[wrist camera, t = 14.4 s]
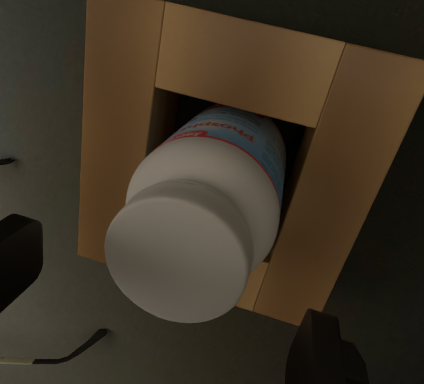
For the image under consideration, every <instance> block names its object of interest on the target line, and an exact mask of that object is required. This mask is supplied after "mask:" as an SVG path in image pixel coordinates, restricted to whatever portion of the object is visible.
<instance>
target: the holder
mask: <svg viewBox="0 0 424 384" xmlns="http://www.w3.org/2000/svg"><path fill="white" fill-rule="evenodd" d="M181 94H183V95H187V96H191V97H195V98H199V99H203V100H207V101H211V102H215V103H218V104H222V105H226V106H230V107H234V108H238V109H242V110H246V111H250V112H253V113H257V114H261V115H265V116H269V117H273V118H277V119H281V120H284V121H288V122H292V123H296V124H300V125H304V126H306V128H305V131H304V134H303V137H302V140H301V143H300V146H299V149H298V152H297V155H296V158H295V161H294V164H293V167H292V170H291V173H290V176H289V179H288V182H287V185H286V188H285V191H284V194H283V197H282V203H281V211H280V220H279V226H278V231H277V235H276V238H275V241H274V244H273V246H272V248H271V250H270V252H269V253H268V255H267V256H266V258H265V259H264V260H263V261H262V262H261V263H260V265H258V266H257V267H256V268H255V269H254V270H253V271H251V272H250V274H249V278H248V282H247V285H246V289H245V291H244V293H243V294H242V296H241V298H240V299H239V301H238V302H237V303H236V304H235V305H234V306H237V307H240V308H243V309H247V310H250V311H254V312H257V313H260V314H263V315H266V316H269V317H272V318H275V319H278V320H282V321H285V322H288V323H291V324H294V325H297V326H300V324H301V322H302V319H303V317H304V315H305V313H306V311H307V309H308V308H311V309H314V310H317V311H320V312H322V310H323V308H324V306H325V304H326V301H327V299H328V297H329V295H330V293H331V291H332V289H333V287H334V284H335V282H336V280H337V278H338V276H339V274H340V272H341V270H342V267H343V265H344V263H345V261H346V259H347V257H348V255H349V253H350V251H351V248H352V246H353V244H354V242H355V240H356V238H357V236H358V234H359V231H360V229H361V227H362V225H363V223H364V221H365V219H366V217H367V214H368V212H369V210H370V208H371V206H372V204H373V202H374V200H375V197H376V195H377V193H378V191H379V189H380V187H381V185H382V183H383V181H384V178H385V176H386V174H387V172H388V170H389V168H390V166H391V164H392V161H393V159H394V157H395V155H396V153H397V151H398V149H399V147H400V144H401V142H402V140H403V138H404V136H405V134H406V132H407V130H408V128H409V125H410V123H411V121H412V119H413V117H414V115H415V113H416V111H417V108H418V106H419V104H420V102H421V100H422V98H423V96H424V60H422V59H417V58H413V57H408V56H404V55H400V54H395V53H391V52H387V51H382V50H378V49H373V48H369V47H365V46H360V45H356V44H351V43H347V42H343V41H338V40H334V39H330V38H325V37H321V36H316V35H312V34H308V33H303V32H299V31H294V30H290V29H286V28H281V27H277V26H272V25H268V24H264V23H259V22H255V21H251V20H246V19H242V18H237V17H233V16H229V15H224V14H220V13H215V12H211V11H207V10H202V9H198V8H194V7H189V6H185V5H180V4H176V3H172V2H167V1H163V0H87V12H86V40H85V67H84V95H83V123H82V151H81V179H80V206H79V234H78V255H79V256H82V257H85V258H89V259H92V260H95V261H98V262H101V263H104V264H107V262H106V258H105V248H104V245H105V238H106V233H107V230H108V228H109V226H110V224H111V222H112V220H113V219H114V217H115V216H116V215H117V214H118V212H119V211H120V210H121V209H122V208H123V207H124V206H125V205H126V196H127V190H128V186H129V183H130V181H131V178H132V176H133V174H134V172H135V171H136V169H137V168H138V166H139V165H140V164H141V162H142V161H143V160H144V159H145V158H146V157H147V156H148V155H149V154H150V153H151V152H152V151H154V150H155V149H156V148H157V147H158V146H160V145H161V144H162V143H163V142H165V141H166V140H167V139H168V138H169V137H170V136H172V135H173V134H174V133H175V126H176V120H177V114H178V108H179V101H180V95H181Z"/></svg>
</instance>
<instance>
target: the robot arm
mask: <svg viewBox="0 0 424 384" xmlns="http://www.w3.org/2000/svg"><path fill="white" fill-rule="evenodd" d="M42 266H43V233H42V224H41V223H40V222H39V221H37V220H34V219H31V218H28V217H25V216H21V215H18V214H11V215H9V216H7V217H5V218H4V219H2V220H1V221H0V313H1V312H2V311H3V310H4V309H5V308H6V307H7V306H8V305H10V304H11V303H12V302H13V301H14V300H15V299H16V298H17V297H18V296H19V295H20V294H21V293H23V292H24V291H25V290H26V289H27V288H28V287H29V286H30V285H31V284H32V283H33V282H34V281H35V280H36V279H37V277H38V276H39V274H40V272H41V269H42ZM285 384H369V380H368V375H367V370H366V365H365V362H364V360H363V359H362V357H361V355H360V353H359V352H358V350H357V348H356V347H355V345H354V343H351V342H348V341H345V340H342V339H341V335H340V328H339V321H338V318H337V317H336V316H333V315H330V314H326V313H323V312H320V311H317V310H314V309H311V308H308V309H307V311H306V313H305V315H304V317H303V319H302V322H301V324H300V326H299V329H298V331H297V333H296V335H295V338H294V340H293V342H292V345H291V347H290V350H289V354H288V358H287V363H286V375H285Z"/></svg>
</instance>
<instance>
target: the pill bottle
mask: <svg viewBox="0 0 424 384" xmlns="http://www.w3.org/2000/svg"><path fill="white" fill-rule="evenodd" d="M285 169H286V147H285V143H284V140H283V138H282V135H281V133H280V131H279V129H278V128H277V126H276V125H275V123H274V122H273V121H272V119H271V118H270V117H269V116H265V115H261V114H257V113H253V112H250V111H246V110H242V109H238V108H234V107H230V106H226V105H222V104H215V105H212V106H210V107H208V108H206V109H204V110H203V111H202V112H200V113H199V114H197V115H196V116H195V117H194V118H193V119H191V120H190V121H189V122H188V123H186V124H185V125H184V126H183V127H182V128H180V129H179V130H178V131H177V132H175V133H174V134H173V135H172V136H170V137H169V138H168V139H167V140H166V141H165V142H163V143H162V144H161V145H160V146H158V147H157V148H156V149H155V150H154V151H152V152H151V153H150V154H149V155H148V156H147V157H146V158H145V159H144V160H143V161H142V162H141V164H140V165H139V166H138V168H137V169H136V171H135V172H134V174H133V176H132V178H131V181H130V183H129V186H128V190H127V196H126V205H125V206H124V207H123V208H122V209H121V210H120V211H119V212H118V214H117V215H116V216H115V217H114V219H113V220H112V222H111V224H110V226H109V228H108V230H107V233H106V238H105V245H104V248H105V258H106V262H107V266H108V269H109V272H110V274H111V276H112V278H113V280H114V281H115V283H116V284H117V286H118V287H119V288H120V290H121V291H122V292H123V293H124V294H125V295H126V296H127V297H128V298H129V299H130V300H131V301H132V302H134V303H135V304H136V305H137V306H139V307H140V308H142V309H143V310H145V311H147V312H148V313H150V314H152V315H155V316H157V317H159V318H162V319H165V320H169V321H174V322H181V323H199V322H205V321H209V320H212V319H214V318H217V317H219V316H221V315H223V314H225V313H226V312H228V311H229V310H230V309H231V308H232V307H234V305H235V304H236V303H237V302H238V301H239V299H240V298H241V296H242V294H243V293H244V291H245V289H246V285H247V282H248V278H249V274H250V272H251V271H253V270H254V269H255V268H256V267H257V266H258V265H260V263H261V262H262V261H263V260H264V259H265V258H266V256H267V255H268V253H269V252H270V250H271V248H272V246H273V244H274V241H275V238H276V235H277V231H278V226H279V220H280V211H281V203H282V194H283V185H284V177H285Z"/></svg>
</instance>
